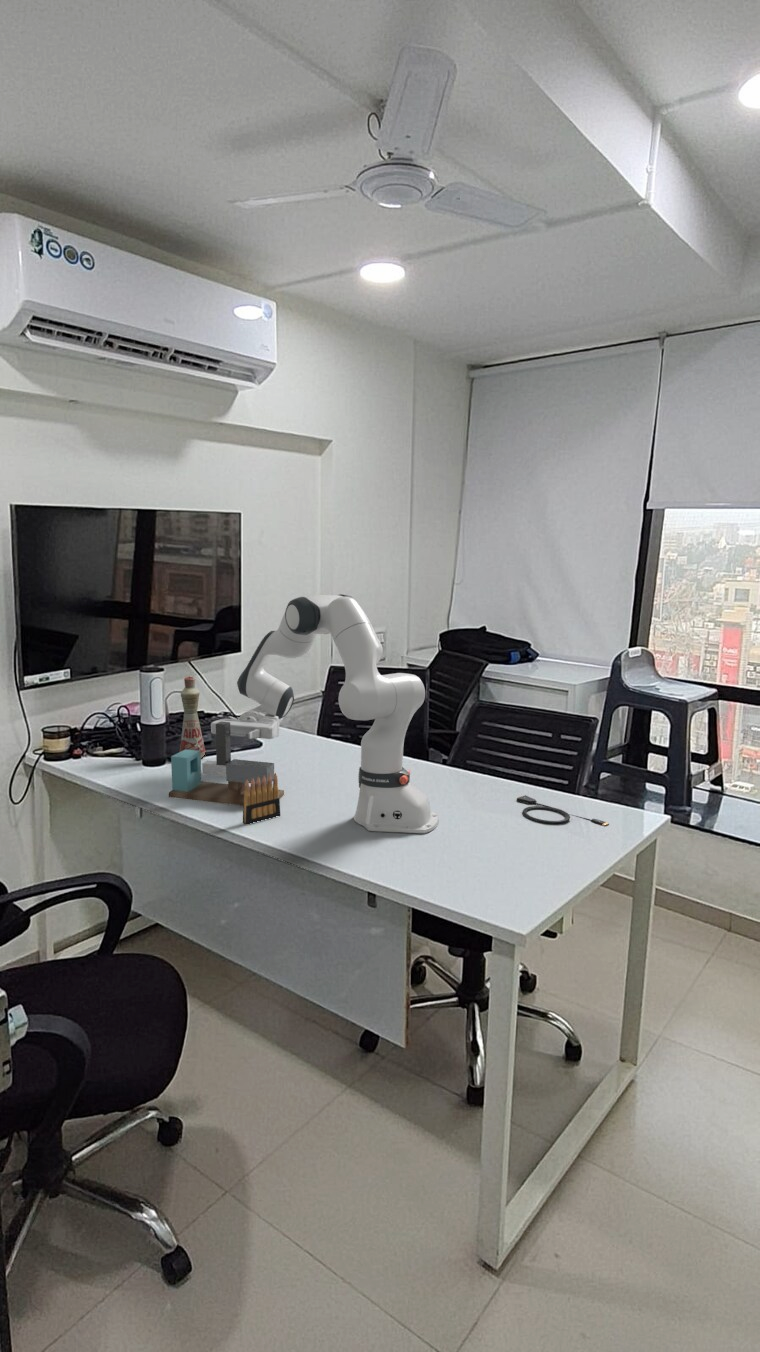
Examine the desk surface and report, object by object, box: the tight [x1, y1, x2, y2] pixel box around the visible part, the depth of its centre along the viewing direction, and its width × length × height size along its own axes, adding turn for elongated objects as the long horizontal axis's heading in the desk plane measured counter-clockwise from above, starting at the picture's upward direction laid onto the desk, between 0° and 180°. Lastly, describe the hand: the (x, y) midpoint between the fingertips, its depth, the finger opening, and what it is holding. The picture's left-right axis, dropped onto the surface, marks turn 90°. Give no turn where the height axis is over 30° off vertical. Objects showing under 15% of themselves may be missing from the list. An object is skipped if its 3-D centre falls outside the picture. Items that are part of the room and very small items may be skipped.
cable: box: [516, 794, 609, 827], centre depth 212 cm, size 14×28×2 cm, turn 42°
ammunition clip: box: [242, 772, 281, 825], centre depth 205 cm, size 11×2×12 cm, turn 132°
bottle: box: [179, 675, 206, 757], centre depth 259 cm, size 9×9×28 cm
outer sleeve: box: [225, 758, 275, 785], centre depth 220 cm, size 12×5×5 cm, turn 74°
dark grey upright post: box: [201, 722, 232, 778], centre depth 221 cm, size 19×3×15 cm, turn 74°
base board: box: [168, 780, 285, 807], centre depth 223 cm, size 30×12×6 cm, turn 74°
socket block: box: [170, 749, 202, 792], centre depth 226 cm, size 5×8×10 cm, turn 164°
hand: (233, 734), depth 227 cm, fingers open, 8 cm apart
